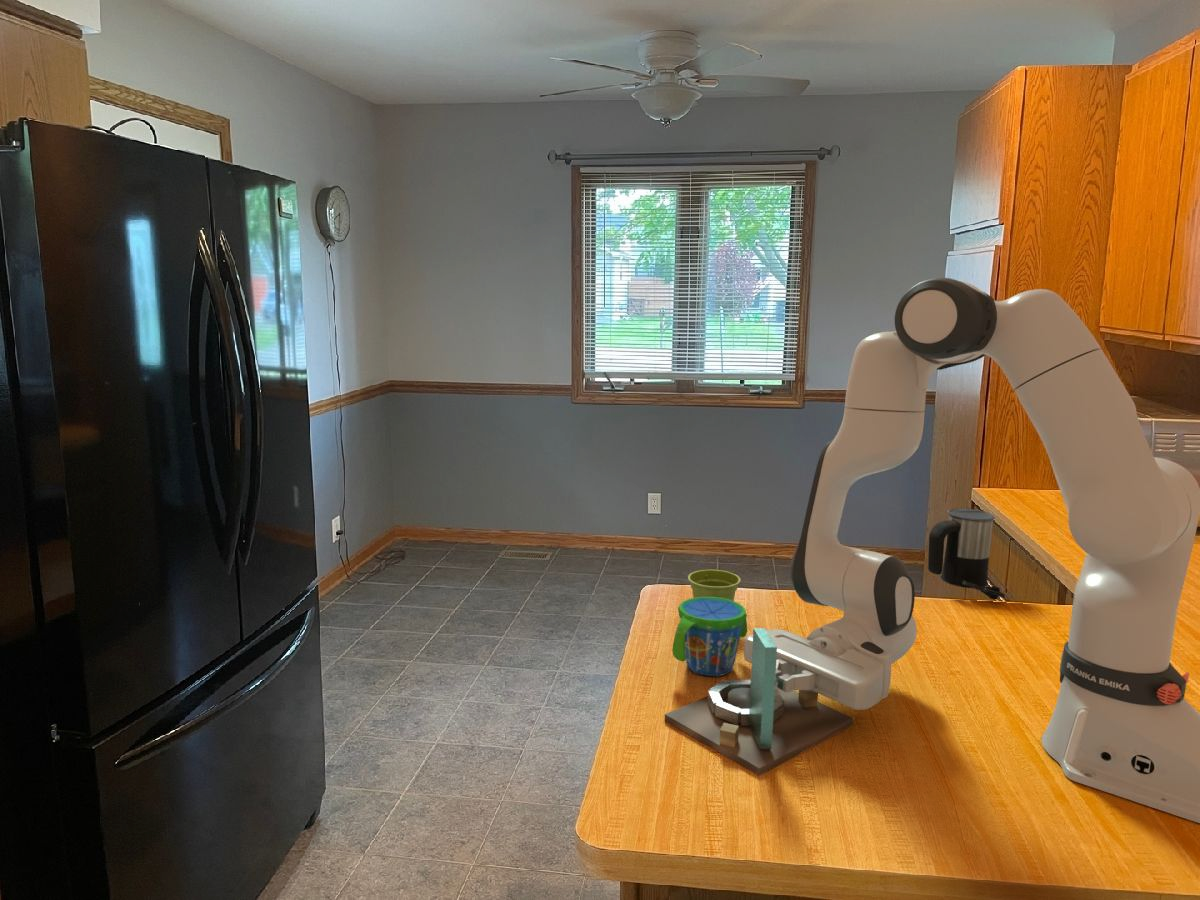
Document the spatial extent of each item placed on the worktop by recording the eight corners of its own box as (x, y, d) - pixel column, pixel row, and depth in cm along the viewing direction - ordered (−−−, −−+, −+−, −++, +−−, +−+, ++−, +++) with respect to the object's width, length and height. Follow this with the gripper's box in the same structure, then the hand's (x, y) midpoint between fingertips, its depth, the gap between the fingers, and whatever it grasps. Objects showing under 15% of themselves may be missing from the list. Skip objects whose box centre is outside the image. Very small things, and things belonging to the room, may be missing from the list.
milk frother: (956, 571, 180) (962, 505, 178) (1028, 592, 168) (1036, 522, 165) (918, 584, 172) (924, 515, 169) (991, 607, 160) (999, 533, 157)
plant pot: (680, 628, 148) (681, 582, 146) (694, 610, 156) (696, 566, 155) (731, 637, 144) (733, 590, 143) (743, 618, 153) (745, 573, 151)
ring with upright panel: (767, 752, 106) (772, 649, 103) (682, 716, 114) (685, 621, 112) (815, 713, 116) (821, 619, 113) (734, 683, 124) (738, 595, 122)
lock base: (853, 724, 115) (854, 704, 115) (759, 775, 103) (760, 753, 102) (758, 680, 128) (759, 662, 128) (664, 720, 116) (665, 700, 115)
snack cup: (722, 644, 141) (724, 588, 139) (768, 667, 133) (771, 607, 131) (651, 667, 132) (652, 607, 130) (695, 693, 124) (697, 629, 122)
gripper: (779, 612, 126) (718, 635, 118) (901, 658, 111) (840, 688, 102) (777, 651, 128) (716, 676, 119) (898, 701, 112) (837, 735, 103)
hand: (774, 682), depth 110 cm, fingers closed
